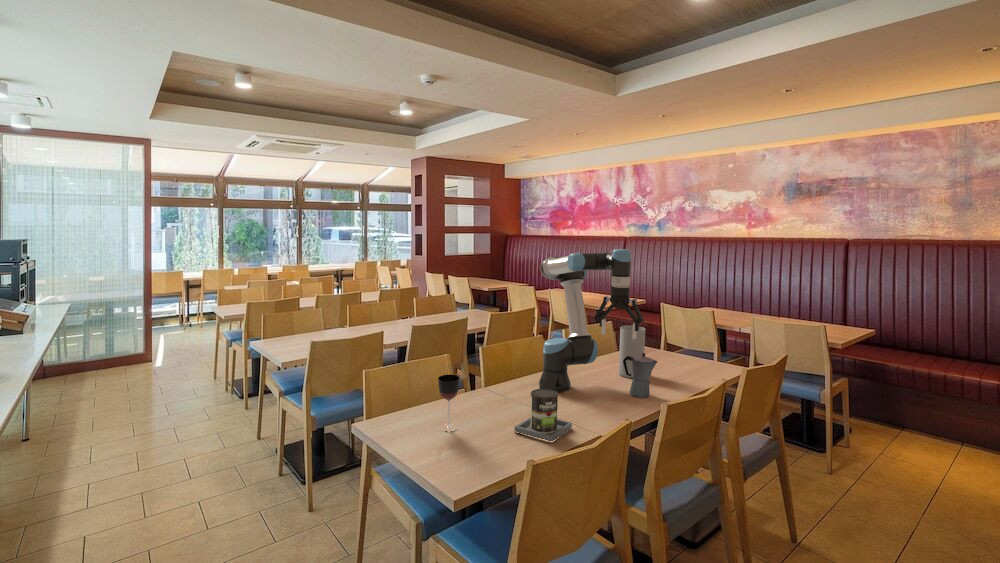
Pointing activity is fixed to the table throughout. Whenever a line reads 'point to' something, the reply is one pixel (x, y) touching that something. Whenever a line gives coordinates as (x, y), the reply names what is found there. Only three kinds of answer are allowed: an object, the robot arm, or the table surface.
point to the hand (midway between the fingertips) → (618, 336)
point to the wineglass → (448, 389)
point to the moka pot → (640, 374)
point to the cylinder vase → (630, 348)
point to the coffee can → (544, 410)
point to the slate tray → (525, 429)
